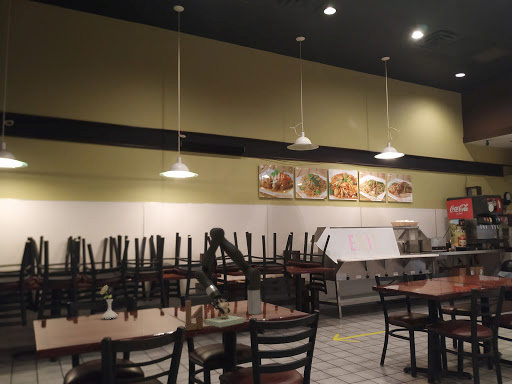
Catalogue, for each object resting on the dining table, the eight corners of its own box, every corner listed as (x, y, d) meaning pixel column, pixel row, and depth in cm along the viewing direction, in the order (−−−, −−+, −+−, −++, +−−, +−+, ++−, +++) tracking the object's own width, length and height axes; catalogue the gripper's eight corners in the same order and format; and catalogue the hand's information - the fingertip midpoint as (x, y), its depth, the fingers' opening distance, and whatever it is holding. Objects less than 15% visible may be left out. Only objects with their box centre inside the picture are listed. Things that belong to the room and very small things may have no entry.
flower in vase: (111, 316, 321) (111, 283, 323) (120, 318, 314) (120, 283, 317) (96, 319, 310) (96, 285, 312) (105, 321, 304) (105, 285, 306)
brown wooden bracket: (203, 329, 266) (202, 299, 268) (186, 331, 262) (185, 301, 264) (201, 327, 270) (200, 299, 271) (184, 329, 265) (184, 300, 267)
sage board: (229, 319, 294) (229, 315, 294) (244, 322, 282) (243, 317, 282) (205, 324, 281) (205, 319, 281) (219, 327, 269) (219, 322, 269)
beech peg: (225, 321, 285) (225, 302, 286) (229, 322, 281) (229, 302, 282) (219, 322, 282) (219, 302, 283) (223, 323, 278) (223, 303, 279)
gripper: (208, 290, 283) (221, 310, 274) (223, 288, 294) (236, 307, 285) (203, 298, 286) (216, 318, 277) (218, 295, 297) (231, 314, 288)
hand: (226, 312), depth 281 cm, fingers closed on beech peg, 5 cm apart
